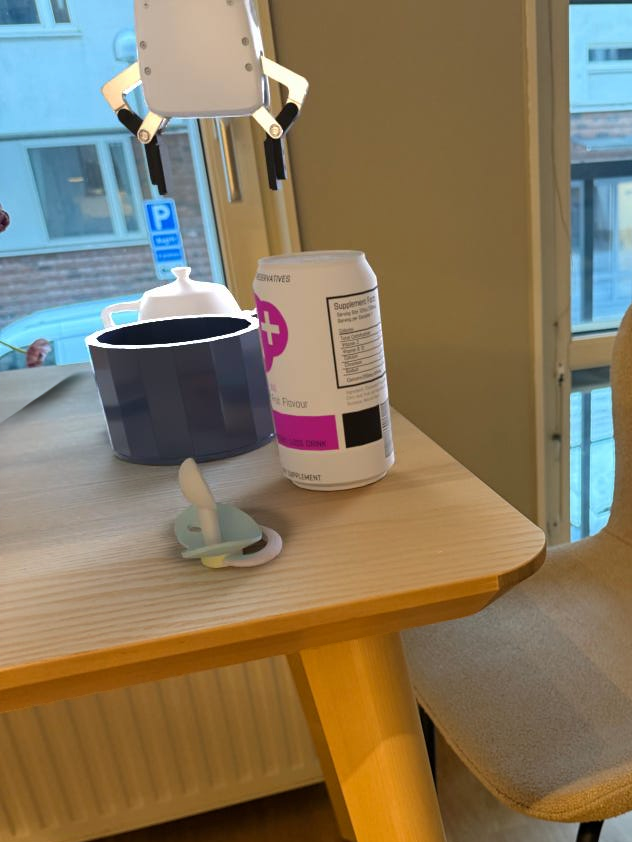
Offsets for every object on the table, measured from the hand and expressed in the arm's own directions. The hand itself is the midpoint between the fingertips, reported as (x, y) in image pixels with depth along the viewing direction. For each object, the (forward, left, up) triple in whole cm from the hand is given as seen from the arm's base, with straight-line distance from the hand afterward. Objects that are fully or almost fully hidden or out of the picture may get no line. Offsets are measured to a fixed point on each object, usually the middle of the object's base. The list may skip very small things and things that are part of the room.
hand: (221, 192), depth 82 cm
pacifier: (+5, -40, -18) cm, 45 cm away
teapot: (-9, +19, -18) cm, 28 cm away
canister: (-3, -14, -18) cm, 23 cm away
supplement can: (+10, -26, -18) cm, 34 cm away
